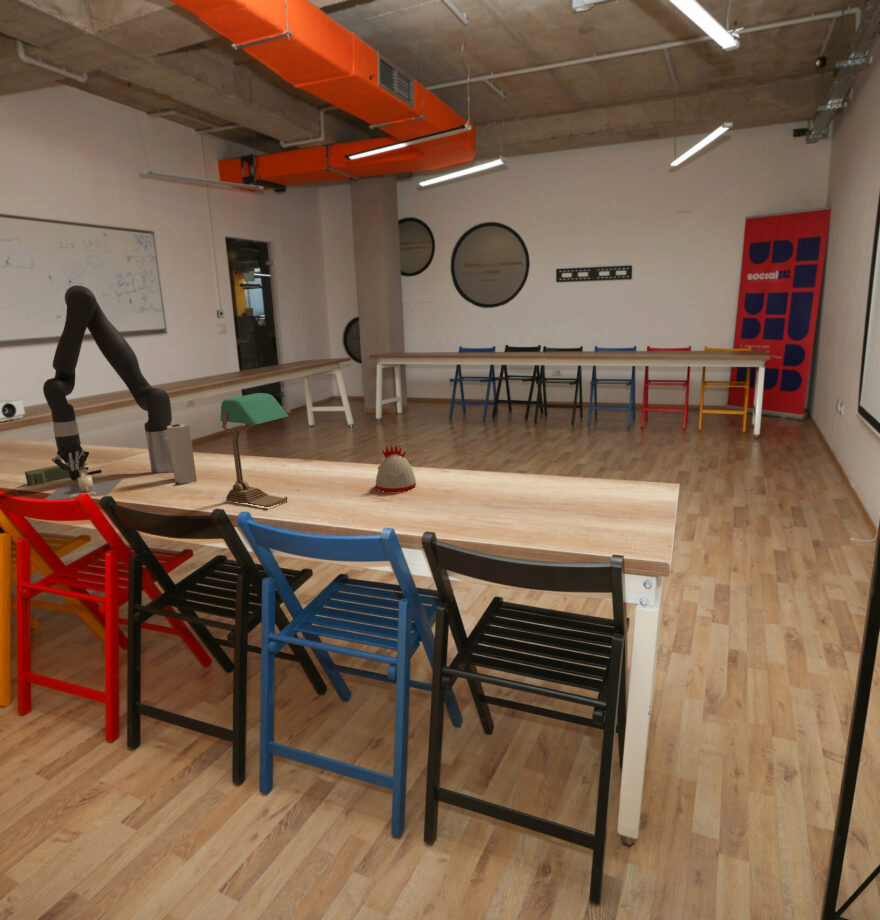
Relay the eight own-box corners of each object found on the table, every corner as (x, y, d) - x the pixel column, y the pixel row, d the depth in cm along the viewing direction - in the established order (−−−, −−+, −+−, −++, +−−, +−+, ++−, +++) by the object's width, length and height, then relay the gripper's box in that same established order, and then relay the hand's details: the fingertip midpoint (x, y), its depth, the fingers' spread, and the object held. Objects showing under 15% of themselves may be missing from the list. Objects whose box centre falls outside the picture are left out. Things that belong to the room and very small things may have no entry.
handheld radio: (27, 488, 228) (100, 473, 245) (30, 490, 225) (103, 475, 243) (24, 470, 226) (97, 457, 243) (26, 472, 224) (100, 458, 241)
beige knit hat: (376, 482, 221) (373, 441, 217) (414, 480, 222) (413, 439, 218) (375, 494, 207) (373, 450, 203) (416, 491, 208) (415, 448, 204)
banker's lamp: (254, 491, 215) (242, 390, 206) (299, 499, 204) (289, 394, 195) (217, 504, 201) (203, 398, 192) (263, 513, 191) (251, 402, 182)
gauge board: (122, 482, 231) (122, 478, 230) (107, 498, 212) (107, 494, 212) (64, 487, 227) (63, 483, 226) (43, 504, 208) (42, 499, 207)
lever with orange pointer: (95, 493, 213) (93, 481, 212) (81, 495, 210) (78, 483, 209) (90, 478, 231) (88, 468, 229) (76, 481, 228) (74, 470, 227)
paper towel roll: (172, 482, 228) (163, 425, 223) (188, 478, 233) (180, 422, 227) (181, 485, 224) (172, 428, 218) (197, 481, 228) (189, 425, 222)
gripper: (78, 428, 227) (86, 474, 232) (41, 436, 216) (50, 483, 221) (91, 430, 224) (98, 476, 228) (54, 438, 213) (63, 486, 217)
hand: (75, 479), depth 225 cm, fingers closed
